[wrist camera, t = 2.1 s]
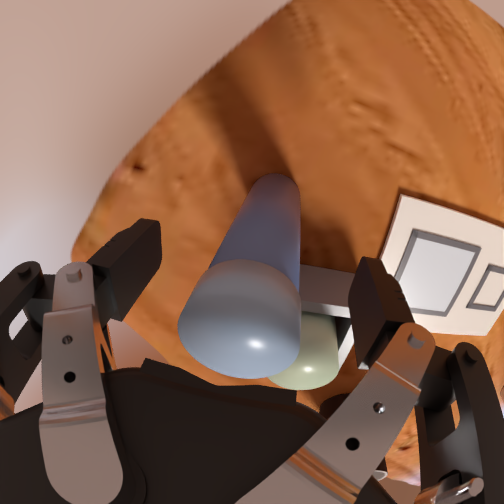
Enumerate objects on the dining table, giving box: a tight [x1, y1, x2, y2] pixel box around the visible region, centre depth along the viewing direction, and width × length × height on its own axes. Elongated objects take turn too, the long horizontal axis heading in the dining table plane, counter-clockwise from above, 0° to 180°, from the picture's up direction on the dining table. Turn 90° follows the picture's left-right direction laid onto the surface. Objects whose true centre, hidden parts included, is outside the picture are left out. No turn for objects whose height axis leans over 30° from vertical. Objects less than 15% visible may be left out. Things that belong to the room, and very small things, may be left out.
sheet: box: [379, 194, 504, 336], centre depth 18 cm, size 16×11×1 cm
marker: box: [178, 173, 301, 379], centre depth 13 cm, size 3×3×12 cm
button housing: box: [299, 264, 355, 369], centre depth 20 cm, size 7×7×4 cm
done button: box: [268, 311, 339, 390], centre depth 18 cm, size 5×5×4 cm
